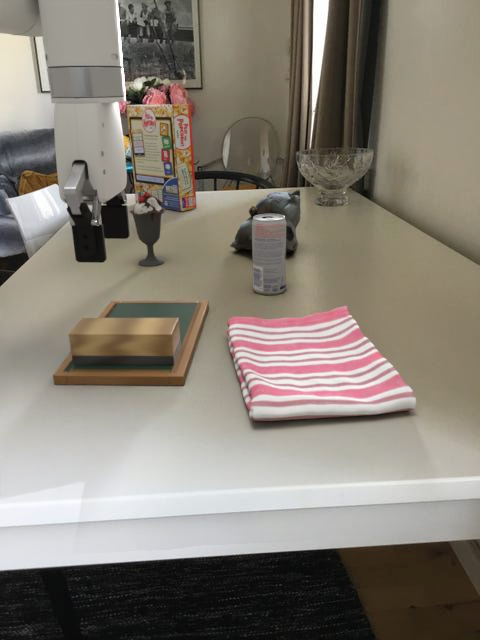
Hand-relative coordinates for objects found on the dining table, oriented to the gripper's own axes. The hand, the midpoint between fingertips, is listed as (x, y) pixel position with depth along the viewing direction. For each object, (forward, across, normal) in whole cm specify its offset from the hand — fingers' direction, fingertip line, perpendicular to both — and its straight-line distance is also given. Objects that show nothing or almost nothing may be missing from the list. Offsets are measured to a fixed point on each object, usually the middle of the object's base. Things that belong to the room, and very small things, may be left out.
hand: (105, 249), depth 65 cm
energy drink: (+14, -26, +18) cm, 35 cm away
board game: (+15, -96, -13) cm, 99 cm away
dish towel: (+14, +2, +24) cm, 27 cm away
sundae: (+15, -42, -5) cm, 44 cm away
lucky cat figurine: (+14, -50, +17) cm, 54 cm away
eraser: (+13, +1, +2) cm, 13 cm away
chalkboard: (+14, -6, +2) cm, 15 cm away
